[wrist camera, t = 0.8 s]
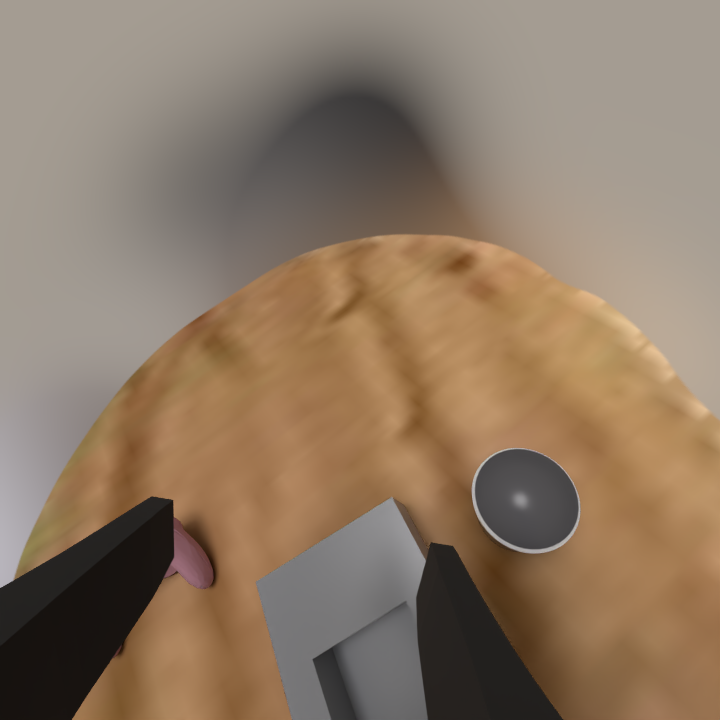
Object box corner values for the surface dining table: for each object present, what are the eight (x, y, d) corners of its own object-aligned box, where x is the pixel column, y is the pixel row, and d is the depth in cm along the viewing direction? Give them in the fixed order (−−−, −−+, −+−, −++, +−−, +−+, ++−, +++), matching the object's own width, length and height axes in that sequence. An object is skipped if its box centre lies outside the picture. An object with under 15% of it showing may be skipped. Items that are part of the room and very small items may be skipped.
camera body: (578, 824, 16) (619, 941, 11) (396, 938, 16) (359, 1103, 11) (403, 505, 25) (384, 492, 20) (285, 578, 25) (237, 583, 20)
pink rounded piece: (220, 536, 30) (156, 492, 26) (219, 586, 26) (144, 543, 22) (123, 608, 29) (44, 573, 26) (106, 670, 25) (11, 639, 22)
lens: (570, 529, 22) (608, 517, 15) (506, 569, 22) (516, 575, 15) (517, 463, 24) (531, 428, 18) (460, 499, 24) (452, 477, 18)
